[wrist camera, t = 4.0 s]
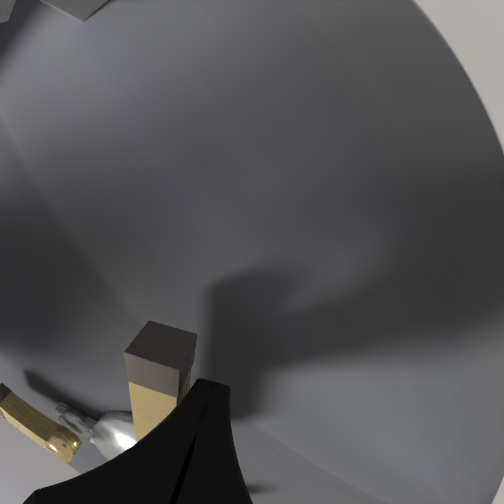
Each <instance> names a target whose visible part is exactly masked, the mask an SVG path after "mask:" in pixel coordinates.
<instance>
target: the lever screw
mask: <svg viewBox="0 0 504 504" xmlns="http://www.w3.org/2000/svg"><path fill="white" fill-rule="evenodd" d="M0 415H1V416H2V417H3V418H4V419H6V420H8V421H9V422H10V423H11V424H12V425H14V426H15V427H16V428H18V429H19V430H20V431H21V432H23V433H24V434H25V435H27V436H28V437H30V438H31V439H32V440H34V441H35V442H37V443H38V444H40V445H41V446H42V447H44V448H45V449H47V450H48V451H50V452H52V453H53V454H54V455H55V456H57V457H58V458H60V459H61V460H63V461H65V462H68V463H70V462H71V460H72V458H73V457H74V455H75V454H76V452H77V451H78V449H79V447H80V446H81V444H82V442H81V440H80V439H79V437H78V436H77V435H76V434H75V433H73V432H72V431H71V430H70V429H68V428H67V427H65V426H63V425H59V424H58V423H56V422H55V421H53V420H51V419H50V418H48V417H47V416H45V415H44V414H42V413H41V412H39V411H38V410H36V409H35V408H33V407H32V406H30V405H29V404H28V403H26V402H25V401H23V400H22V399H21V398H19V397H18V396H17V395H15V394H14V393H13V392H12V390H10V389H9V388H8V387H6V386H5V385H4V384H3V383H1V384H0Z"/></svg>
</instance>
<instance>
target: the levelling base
mask: <svg viewBox="0 0 504 504" xmlns="http://www.w3.org/2000/svg"><path fill="white" fill-rule="evenodd" d="M55 412H56V414H57V417H58V420H59V422H60V424H61V425H63V426H65V427H67V428H68V429H70V430H71V431H72V432H73V433H75V434H76V435H77V436H78V437H79V439H80V440H81V441H83V442H89V441H90V442H92V443H94V444H95V445H96V446H97V448H98V449H99V450H100V452H101V453H102V454H103V455H104V456H105V457H106V458H107V459H108V460H111V459H113V458H114V457H116V456H118V455H119V454H121V453H123V452H124V451H125V450H127V449H128V448H130V447H131V446H133V445H134V444H135V443H137V440H136V434H135V428H134V421H133V414H132V413H130V412H122V411H113V412H108V413H105V414H103V415H102V416H101V417H100V418H99V420H98V421H96V420H94V419H92V418H90V417H88V416H87V415H86V414H85V413H84V412H82V411H81V410H79V409H77V408H75V407H73V406H68V405H66V404H64V403H63V402H60V403H59V405H58V406H57V407H56V408H55Z"/></svg>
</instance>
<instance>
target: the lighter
mask: <svg viewBox="0 0 504 504" xmlns="http://www.w3.org/2000/svg"><path fill="white" fill-rule="evenodd" d="M39 1H41V2H43V3H45V4H47V5H49V6H51V7H53V8H55V9H57V10H59V11H61V12H63V13H65V14H67V15H69V16H70V17H72V18H74V19H76V20H78V21H79V22H83V21H85V20H86V19H87V18H88V17H90V16H91V15H92V14H93V13H94V12H95V11H96V10H97V9H99V8H100V7H101V6H102V5H103V4H105V3H106V2H107V1H108V0H39ZM15 2H16V0H0V23H3V22H6V21H7V20H9V18H10V15H11V12H12V9H13V7H14V4H15Z"/></svg>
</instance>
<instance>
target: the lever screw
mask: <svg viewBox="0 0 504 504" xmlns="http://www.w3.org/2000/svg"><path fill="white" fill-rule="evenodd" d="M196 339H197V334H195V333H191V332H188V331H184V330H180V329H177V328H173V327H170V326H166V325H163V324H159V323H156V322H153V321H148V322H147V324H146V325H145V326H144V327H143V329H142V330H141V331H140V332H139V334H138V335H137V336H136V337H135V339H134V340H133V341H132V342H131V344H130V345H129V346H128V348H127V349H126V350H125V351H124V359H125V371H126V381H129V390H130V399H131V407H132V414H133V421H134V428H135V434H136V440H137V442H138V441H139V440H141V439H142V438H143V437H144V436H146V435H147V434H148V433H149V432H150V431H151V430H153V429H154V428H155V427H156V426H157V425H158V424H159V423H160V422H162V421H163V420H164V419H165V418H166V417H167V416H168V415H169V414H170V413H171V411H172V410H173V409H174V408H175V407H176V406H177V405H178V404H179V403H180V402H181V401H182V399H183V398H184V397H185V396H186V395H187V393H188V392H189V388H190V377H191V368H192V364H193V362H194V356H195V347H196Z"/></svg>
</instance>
